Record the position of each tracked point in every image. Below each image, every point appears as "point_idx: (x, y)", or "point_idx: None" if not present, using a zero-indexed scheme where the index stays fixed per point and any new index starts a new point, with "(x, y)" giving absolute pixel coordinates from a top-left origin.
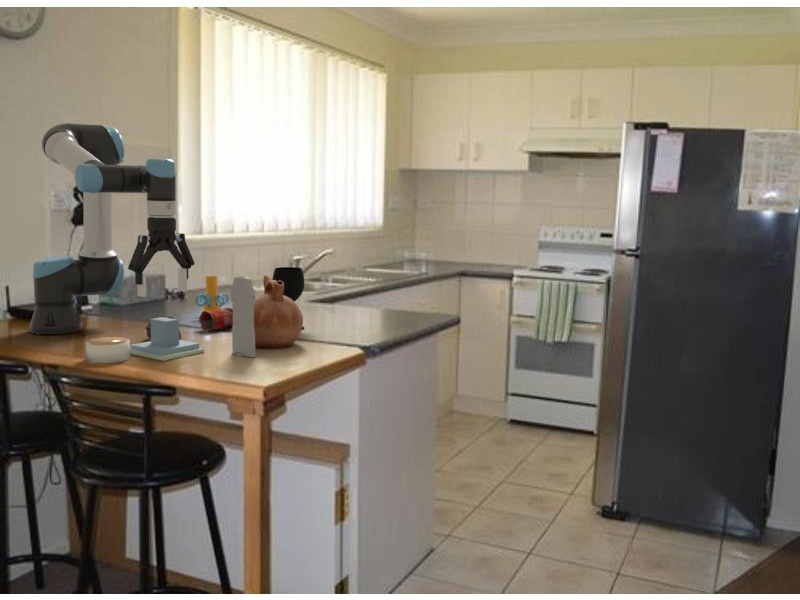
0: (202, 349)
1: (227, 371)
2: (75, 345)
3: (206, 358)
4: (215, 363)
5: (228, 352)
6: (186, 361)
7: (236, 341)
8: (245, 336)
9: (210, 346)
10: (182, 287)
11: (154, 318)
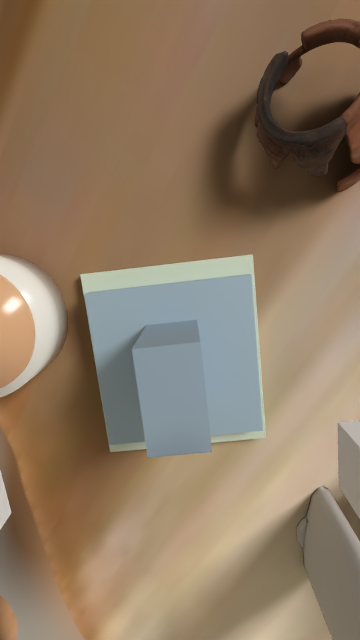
0: (258, 437)
1: (166, 635)
2: (3, 7)
3: (217, 498)
4: (197, 558)
5: (312, 477)
6: (155, 492)
7: (319, 554)
8: (325, 617)
9: (335, 370)
10: (353, 485)
11: (151, 352)
